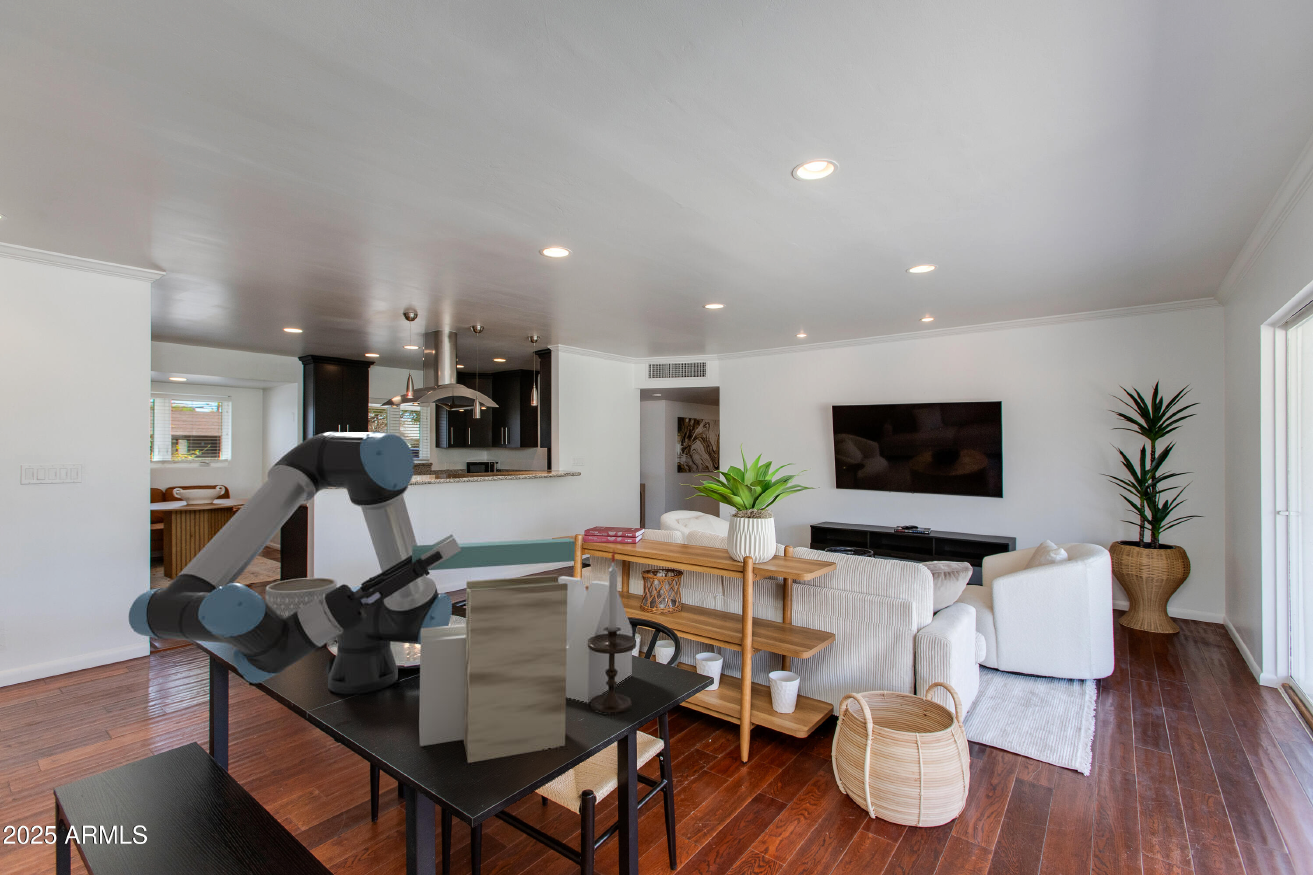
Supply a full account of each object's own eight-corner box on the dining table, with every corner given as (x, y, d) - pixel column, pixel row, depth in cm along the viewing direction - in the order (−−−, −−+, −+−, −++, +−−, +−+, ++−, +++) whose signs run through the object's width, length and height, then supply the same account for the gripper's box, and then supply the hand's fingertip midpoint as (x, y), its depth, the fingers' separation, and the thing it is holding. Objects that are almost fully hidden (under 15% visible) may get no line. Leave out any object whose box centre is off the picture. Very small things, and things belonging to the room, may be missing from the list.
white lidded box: (419, 725, 127) (420, 628, 127) (508, 712, 134) (509, 620, 134) (420, 746, 118) (421, 641, 119) (515, 731, 125) (516, 632, 125)
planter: (284, 646, 174) (285, 594, 174) (252, 633, 184) (253, 585, 184) (348, 629, 190) (349, 582, 190) (315, 619, 200) (316, 575, 200)
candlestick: (636, 715, 133) (638, 553, 133) (585, 716, 132) (588, 553, 132) (634, 695, 144) (636, 544, 144) (587, 695, 143) (589, 544, 143)
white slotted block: (581, 664, 163) (583, 570, 164) (631, 675, 156) (633, 576, 156) (534, 689, 146) (536, 584, 147) (587, 703, 139) (589, 592, 139)
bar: (411, 567, 115) (412, 545, 115) (569, 557, 127) (569, 538, 127) (412, 571, 111) (412, 549, 111) (574, 561, 123) (574, 541, 123)
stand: (463, 740, 121) (466, 580, 121) (554, 725, 128) (557, 574, 128) (467, 762, 113) (471, 591, 113) (564, 745, 119) (567, 584, 120)
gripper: (349, 618, 117) (462, 550, 125) (341, 646, 101) (471, 566, 109) (328, 585, 116) (443, 519, 123) (316, 608, 100) (449, 530, 108)
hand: (456, 541), depth 116 cm, fingers closed on bar, 4 cm apart
